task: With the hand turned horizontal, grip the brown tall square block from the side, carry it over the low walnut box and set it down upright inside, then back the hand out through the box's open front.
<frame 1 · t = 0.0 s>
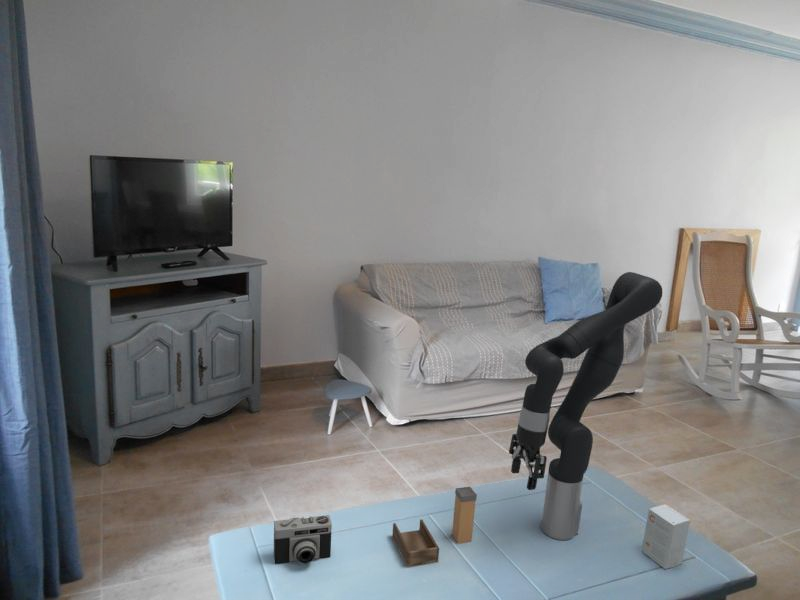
hand: (522, 480, 161), 17 cm above the table, tool pointing down, fingers open, 8 cm apart
brown tall square block: (461, 537, 163), on the table
small box: (661, 558, 160), on the table
walnut box: (414, 548, 157), on the table
camera: (302, 561, 150), on the table
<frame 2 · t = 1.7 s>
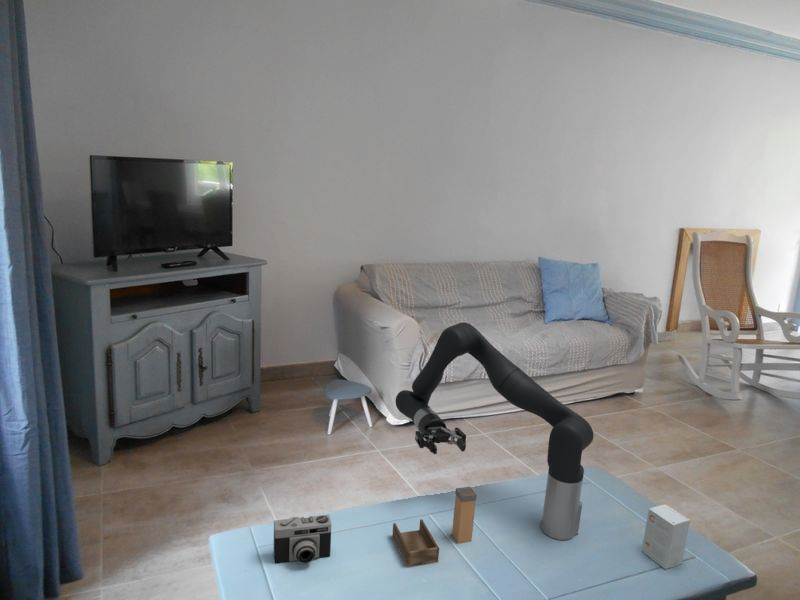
hand: (450, 449, 169), 20 cm above the table, tool horizontal, fingers open, 8 cm apart
nothing on the table moved.
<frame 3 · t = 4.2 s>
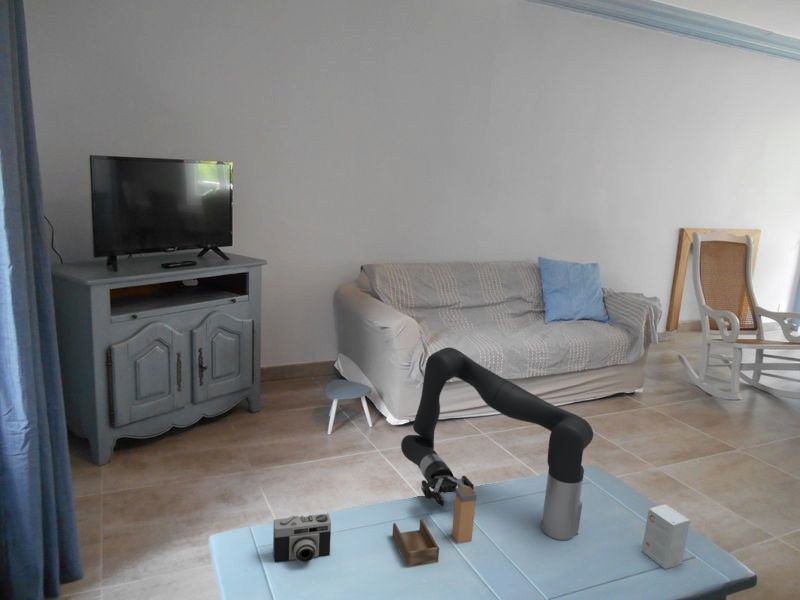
hand: (457, 501, 166), 8 cm above the table, tool horizontal, fingers open, 8 cm apart
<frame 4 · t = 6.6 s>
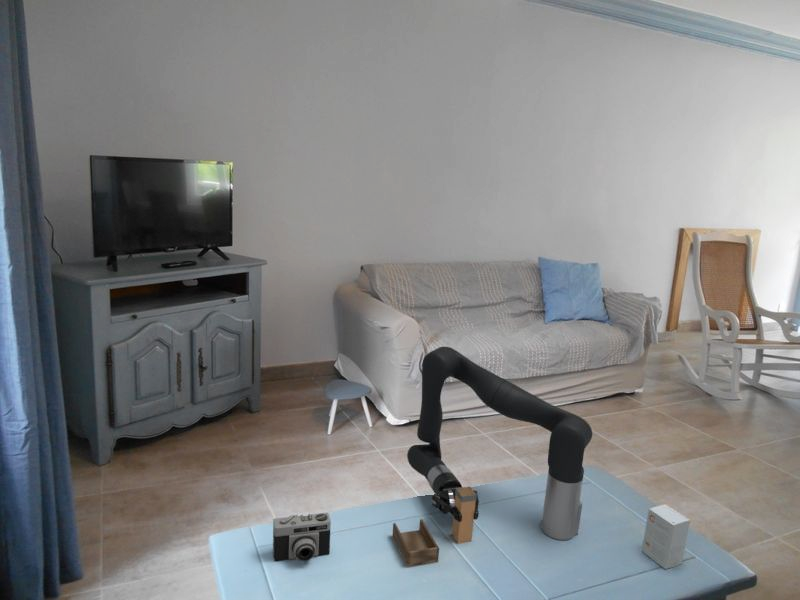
hand: (468, 517, 158), 8 cm above the table, tool horizontal, fingers closed on brown tall square block, 4 cm apart
brown tall square block: (461, 537, 163), on the table, touching gripper
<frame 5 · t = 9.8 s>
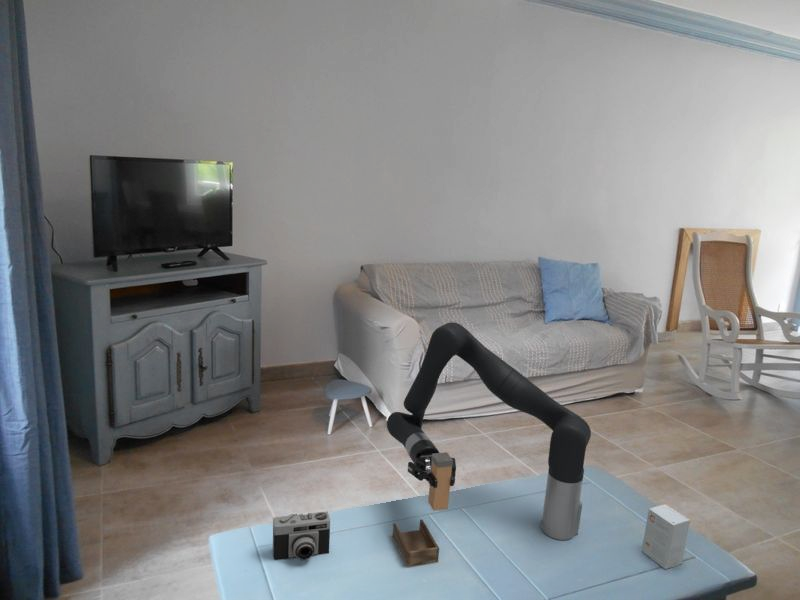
hand: (444, 483, 153), 19 cm above the table, tool horizontal, fingers closed on brown tall square block, 4 cm apart
brown tall square block: (437, 505, 158), point 11 cm above the table, touching gripper
when the fingers open (10 cm above the table, at t = 13.3 s): brown tall square block drops 1 cm, resting on walnut box.
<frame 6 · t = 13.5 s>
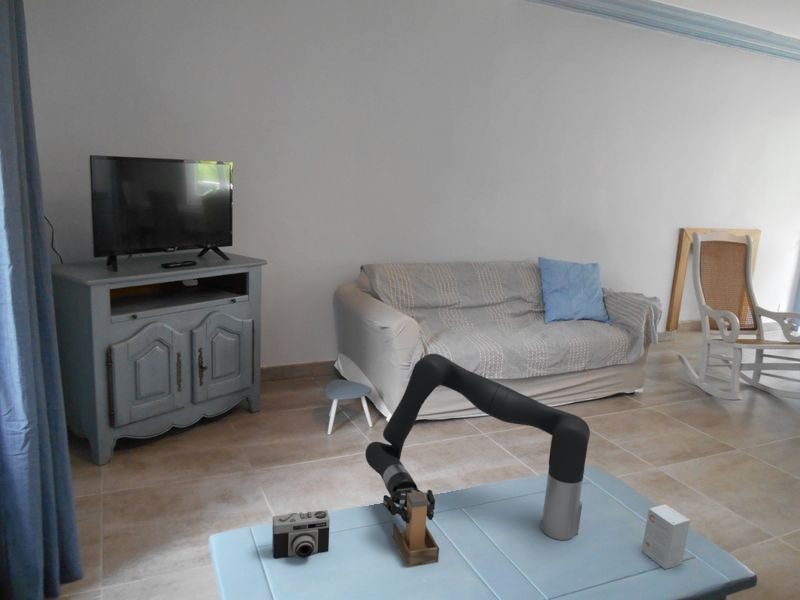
hand: (419, 518, 153), 10 cm above the table, tool horizontal, fingers open, 5 cm apart
brown tall square block: (414, 544, 157), point 1 cm above the table, touching walnut box
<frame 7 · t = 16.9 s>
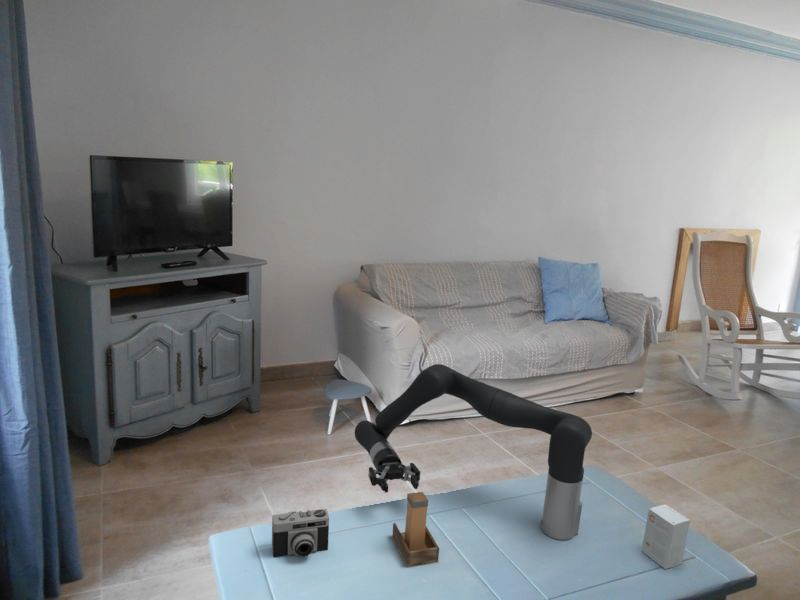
hand: (401, 487, 166), 10 cm above the table, tool horizontal, fingers open, 8 cm apart
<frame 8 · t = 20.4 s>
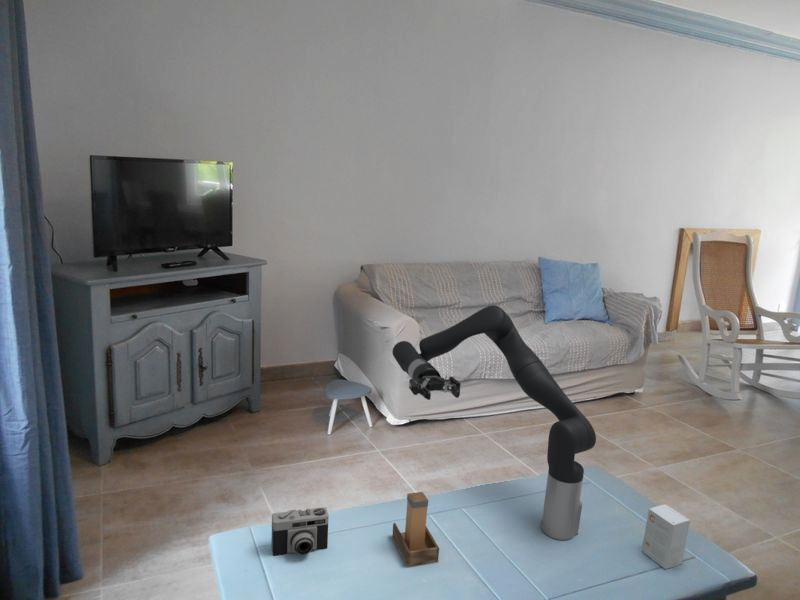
hand: (443, 395, 168), 35 cm above the table, tool horizontal, fingers open, 8 cm apart
at the end: brown tall square block inside the target area on the walnut box (0.5 cm from its centre), point 0.8 cm above the walnut box's base; brown tall square block tilted 0°; the gripper is holding nothing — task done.
